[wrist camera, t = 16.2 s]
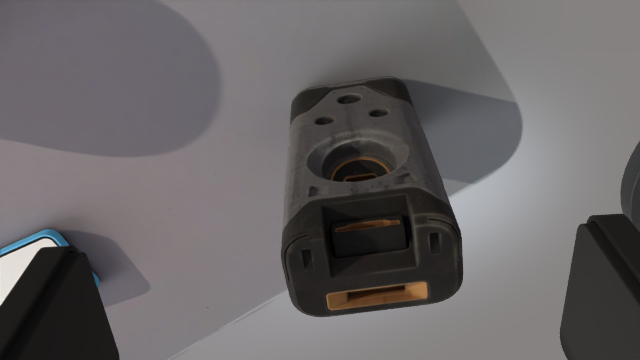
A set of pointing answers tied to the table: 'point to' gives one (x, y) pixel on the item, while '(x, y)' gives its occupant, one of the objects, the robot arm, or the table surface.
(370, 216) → the electronic device
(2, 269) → the smartphone
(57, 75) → the table surface
